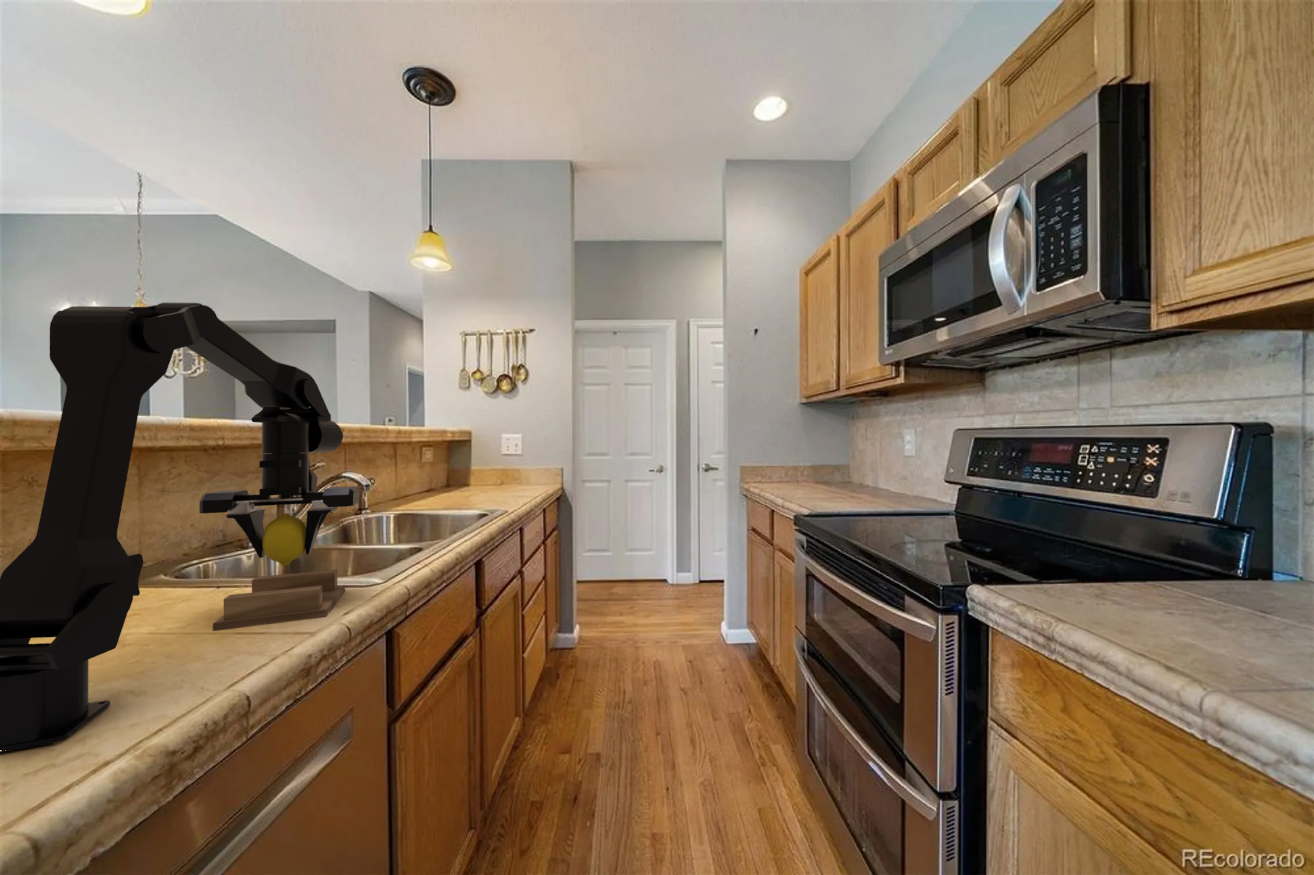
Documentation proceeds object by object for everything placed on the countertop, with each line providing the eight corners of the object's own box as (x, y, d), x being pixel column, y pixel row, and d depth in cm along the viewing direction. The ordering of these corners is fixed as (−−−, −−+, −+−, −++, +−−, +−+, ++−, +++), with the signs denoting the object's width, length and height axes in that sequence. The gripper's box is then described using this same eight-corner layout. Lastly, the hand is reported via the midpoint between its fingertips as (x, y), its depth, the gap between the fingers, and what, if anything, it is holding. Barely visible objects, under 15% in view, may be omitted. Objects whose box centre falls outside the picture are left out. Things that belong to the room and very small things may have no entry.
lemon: (283, 571, 71) (283, 516, 71) (252, 569, 72) (252, 515, 72) (316, 562, 76) (316, 511, 77) (287, 560, 78) (287, 510, 78)
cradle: (326, 616, 71) (326, 589, 71) (212, 630, 66) (212, 601, 66) (345, 591, 83) (344, 568, 83) (250, 601, 78) (250, 576, 78)
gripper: (365, 452, 86) (365, 540, 85) (231, 453, 78) (231, 550, 78) (352, 452, 75) (352, 553, 75) (197, 454, 68) (197, 566, 68)
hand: (285, 555), depth 74 cm, fingers closed on lemon, 5 cm apart
